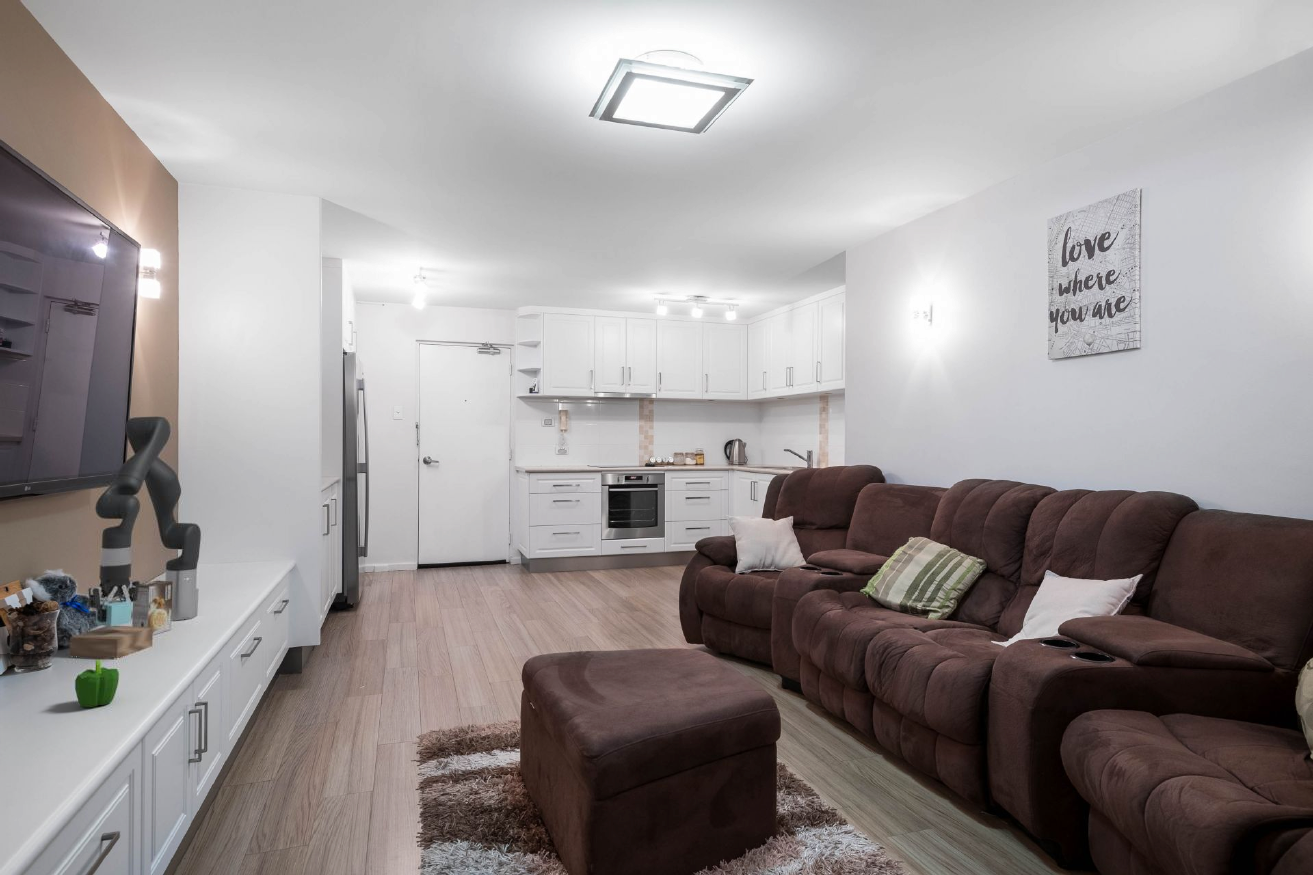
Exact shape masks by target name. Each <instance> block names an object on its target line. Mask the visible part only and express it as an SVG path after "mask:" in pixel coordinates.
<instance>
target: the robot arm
mask: <svg viewBox="0 0 1313 875" xmlns="http://www.w3.org/2000/svg"><path fill="white" fill-rule="evenodd" d="M125 433H126V434H125V435H126V437H127V440H128V442H129V444H130V447H131V449H132V451H133V455H132V456H130V457H129V458H128V459H127V460H125V462H124V463H122V465H121V467H120V468H119V470H118V472H117V474H116V475H115V478H114V481H113V483H112V484H110V485H109V486H108V488H107V489H105V491H104V492H103V493H102V494H101V495H100V496H99V498H98V500H97V501H96V503H95V508H94V509H95V512H96V515H97V516H98V517H99V518H101V519H104V520H121V522H120V523H119V524H118V525H114V526H109V527H106V528H104V529H103V530H102V533H101V534H102V535H101V537H102V538H101V552H100V555H99V556H100V557H99V580H100V583H99V585H98V586H95V587H89V588H88V590H87V591H88V598H89V600H88V601H89V607H90V608H91V609H95V610H96V609H97V610H98V611H97V620H98V621H99V622H106V615H107V609H106V607H107V605H108V603H109V602H110V601H113V598H118V600H119V601H126V602H127V601H128V602H132V603H133V601H136V600H137V596H138V590H139V584H141V583H140V581H139V580H130V578H131V577H132V576H131V575H132V553H133V552H132V533H133V529H134V526H135V524H136V520H137V517H138V515H139V513H140V509H141V502H140V500H139V499H138V497H137V496H136V495H137V494H138V493H139V492H140V490H141V489H142V486H143V484H145V487H146V490H147V493H148V495H149V498H150V500H151V503H152V506H153V510H154V513H155V517H156V521H157V525H158V531H159V532H158V533H159V537H160V541H161V543H162V545H163V546H164V547H165V548H166V549H168V550H169V549H170V550H181V554H180V556H178V557H176V558H173V559H170V560H168V561H167V562H165V580H164V581H172V582H173V583H172V619H171V621H183V620H184V619H185V620H190V619H193V618H195V617H197V616H198V613H199V612H198V609H199V588H197V572H198V570H197V569H198V562H199V559H200V550H201V549H200V548H201V541H202V540H201V539H202V532H201V527H200V526H199V524H197V523H192V522H191V523H189V522H188V523H187V522H177V521H176V519H175V515H174V510H175V508H176V506H177V504H178V502H179V500H180V497H181V494H182V486H181V484H180V480H179V477H178V475H177V473H176V471H175V470H174V469H173V468H172V467H171V466H170V465H168V464H167V463H166V462H165V461H163V460H162V459H161V458H160V457H159V455H160V453H161V452H162V451H163V449H164V448H165V446H166V445H167V443H168V441H169V438H170V436H171V425H170V422H169V420H168V419H167V418H166V417H164V416H136V417H131V418H129V419H128V420H127V421H126V424H125Z"/></svg>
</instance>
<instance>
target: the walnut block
mask: <svg viewBox="0 0 1313 875" xmlns="http://www.w3.org/2000/svg"><path fill="white" fill-rule="evenodd" d="M153 636H154V635H153V627H132V625H131V626H129V625H128V626H126V625H116V626H112V627H110V626H102V627H100V628H96V629H93V630H92V629H91V630H89V631H85V632H82V633H80V634H76V635H73V636H70V638H69V639H70V640H69V657H70V656H73V657H72V658H79V657H90V658H89V659H100V658H116V659H115V660H118V659H117V658H119V659H122V658H124V657H127V656H129V654H130V655H132V654H134V653H137V652H140V651H143V650H145V649H148V648H151V647H153V638H154V637H153ZM76 656H77V657H76ZM123 656H124V657H123ZM121 657H122V658H121Z"/></svg>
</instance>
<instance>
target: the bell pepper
mask: <svg viewBox="0 0 1313 875" xmlns="http://www.w3.org/2000/svg"><path fill="white" fill-rule="evenodd" d="M119 677H120V673H119V670H118V669H117V668H107V667H104V666H102V661H101V659H98V660H97V659H96V661H95V669H91V668H89V669H86V670H84V671H83V672H82V673H79V674H78V675H77V676H76V678H75V680H74V689H75V690H74V691H75V694H76V698H77V701H78V703H79V704H80V706H81V707H83V708H93V707H98V706H104V705H105V706H106V705H110V703H112V701H114V698H115V695H116V692H117V688H118V686H119Z"/></svg>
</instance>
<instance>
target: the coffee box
mask: <svg viewBox="0 0 1313 875" xmlns="http://www.w3.org/2000/svg"><path fill="white" fill-rule="evenodd" d="M172 583H173V582H172V581H165V580H153V581H147V582H142V583H140V584H139V590H138V596H137V600H136V601H133V602H132V614H131V622H132V624H131V626H132V627H153V636H154V635H158V634H161V633H164V632H168V631H171V630H172V620H171V619H172Z"/></svg>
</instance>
